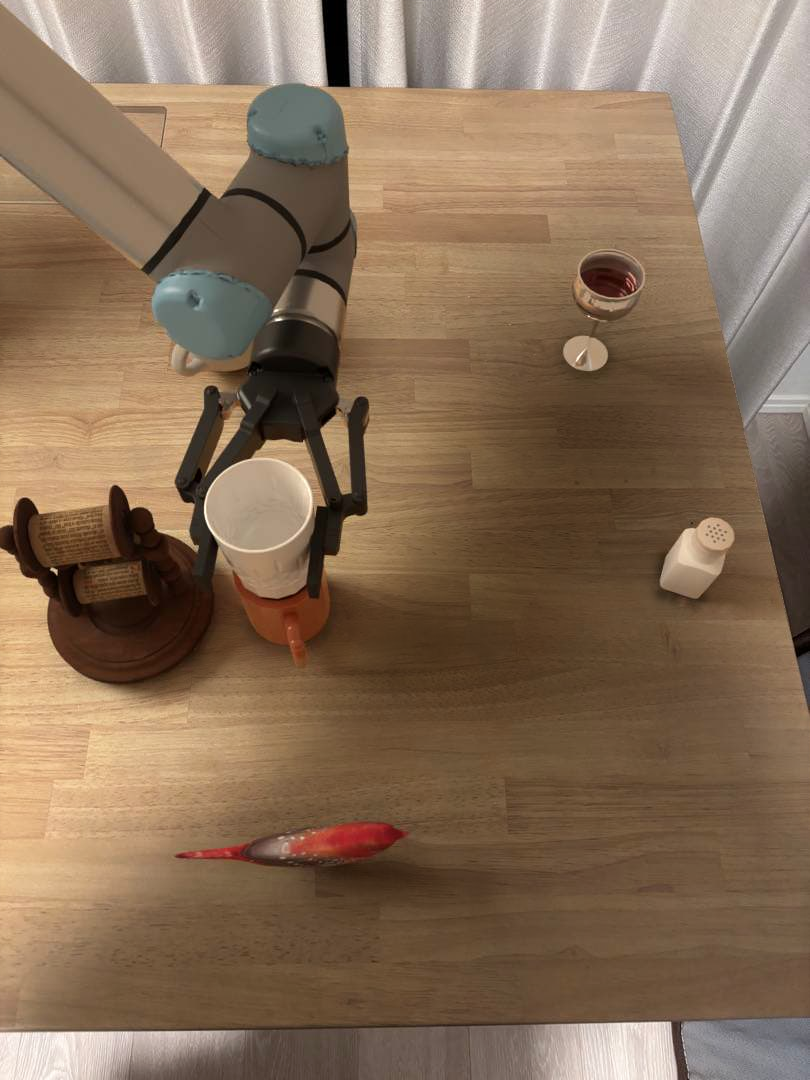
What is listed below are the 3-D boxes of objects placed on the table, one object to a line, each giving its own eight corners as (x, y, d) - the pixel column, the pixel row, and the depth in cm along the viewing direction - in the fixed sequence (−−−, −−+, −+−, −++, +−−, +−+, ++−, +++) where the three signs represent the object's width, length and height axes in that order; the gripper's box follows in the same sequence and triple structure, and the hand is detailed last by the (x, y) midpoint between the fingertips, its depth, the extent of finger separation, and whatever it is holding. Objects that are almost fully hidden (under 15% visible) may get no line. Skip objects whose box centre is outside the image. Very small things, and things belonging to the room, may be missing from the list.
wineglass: (573, 385, 89) (598, 308, 79) (544, 340, 92) (564, 260, 81) (627, 365, 91) (659, 287, 80) (596, 322, 94) (623, 240, 83)
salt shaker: (697, 602, 78) (735, 560, 70) (656, 589, 79) (688, 545, 70) (705, 566, 80) (743, 521, 72) (665, 553, 81) (697, 507, 72)
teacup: (225, 294, 94) (211, 240, 87) (299, 338, 92) (291, 286, 85) (140, 373, 89) (118, 323, 82) (216, 422, 87) (201, 374, 79)
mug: (242, 580, 79) (225, 538, 70) (319, 561, 80) (312, 518, 72) (264, 686, 74) (248, 654, 66) (346, 664, 75) (341, 630, 67)
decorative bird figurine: (408, 864, 68) (411, 851, 59) (190, 883, 67) (160, 872, 58) (406, 827, 69) (408, 809, 60) (192, 845, 68) (162, 829, 59)
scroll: (212, 531, 81) (161, 413, 63) (223, 675, 74) (170, 588, 56) (58, 553, 79) (-39, 439, 62) (56, 702, 73) (-53, 622, 55)
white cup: (228, 524, 70) (203, 462, 61) (320, 516, 70) (310, 453, 62) (229, 610, 67) (203, 557, 58) (326, 601, 67) (316, 547, 58)
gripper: (414, 380, 74) (394, 616, 64) (190, 364, 75) (134, 596, 65) (417, 323, 68) (394, 577, 57) (170, 306, 68) (104, 555, 58)
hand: (257, 587), depth 61 cm, fingers closed on white cup, 8 cm apart
